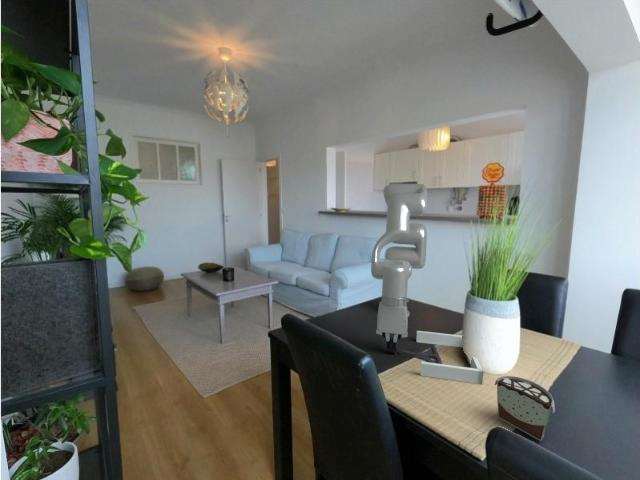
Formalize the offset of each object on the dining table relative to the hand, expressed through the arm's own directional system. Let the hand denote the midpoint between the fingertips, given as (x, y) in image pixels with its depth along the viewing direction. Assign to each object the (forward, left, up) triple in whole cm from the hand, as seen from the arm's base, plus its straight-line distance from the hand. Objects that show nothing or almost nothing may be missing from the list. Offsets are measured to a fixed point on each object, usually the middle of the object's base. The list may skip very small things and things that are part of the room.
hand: (391, 350), depth 106 cm
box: (0, +17, -1) cm, 17 cm away
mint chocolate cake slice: (+26, +32, -1) cm, 41 cm away
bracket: (0, +9, -2) cm, 9 cm away
